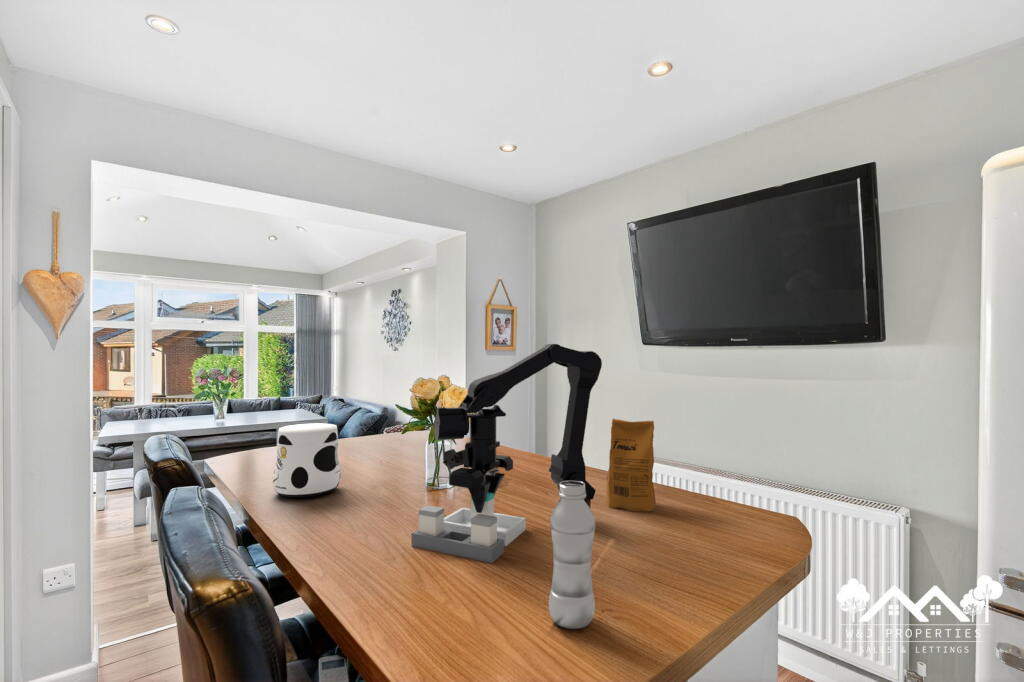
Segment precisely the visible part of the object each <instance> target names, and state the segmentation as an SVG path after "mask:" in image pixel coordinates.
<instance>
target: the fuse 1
mask: <svg viewBox="0 0 1024 682" xmlns="http://www.w3.org/2000/svg"><path fill="white" fill-rule="evenodd" d="M444 518H445V508H444V507H439V506H433V505H428V504H427V505H425V506H423V507H421V508H419V509H418V529H419V533H422V534H427V535H432V536H437V535H439V534H441V533H442V532H444Z"/></svg>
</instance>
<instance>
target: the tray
mask: <svg viewBox="0 0 1024 682" xmlns="http://www.w3.org/2000/svg"><path fill="white" fill-rule="evenodd" d="M494 516H495V517H497V538H498V539H503V540H504V547H507V546H509V545H510V543H512V542H513V541H514V540H515V539H516V538H518V537H519V536H520V535H521V534H523V533H524V532H525V531H526V527H527V525H526V523H527V517H523V516H516V515H511V514H503V513H497V512H494ZM444 528H445V529H450V530H455V531H461V532H466V533H471V508H468V507H467V508H466V507H461V508H459V509H456V511H454V512H452V513H450V514H448V515H447V516H444Z"/></svg>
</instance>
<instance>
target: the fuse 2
mask: <svg viewBox="0 0 1024 682" xmlns="http://www.w3.org/2000/svg"><path fill="white" fill-rule="evenodd" d="M496 542H497V517H495V516H489V515H483V514H478V515H476V516H474V517H473V518H471V543H472V544H477V545H482V546H487V547H491V546H492V545H494V544H495V543H496Z"/></svg>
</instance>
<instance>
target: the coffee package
mask: <svg viewBox="0 0 1024 682" xmlns="http://www.w3.org/2000/svg"><path fill="white" fill-rule="evenodd" d="M654 432H655V422H654V420H641V421H640V420H639V421H628V420H622V419H618V418H614V417H612V420H611V427H610V449H609V455H608V456H609V457H608V458H609V462H608V463H609V464H608V472H607V474H606V504H607V507H608V508H610V507H611V509H612V508H615V509H618V508H619V509H625V510H627V511H629V512H652V511H653V510H654V507H655V506H656V504H657V501H656V500H657V499H656V493H655V487H654V482H653V478H654V473H653V470H654V463H655V457H654V455H655V454H654V453H655V452H654V446H653V445H654Z"/></svg>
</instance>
